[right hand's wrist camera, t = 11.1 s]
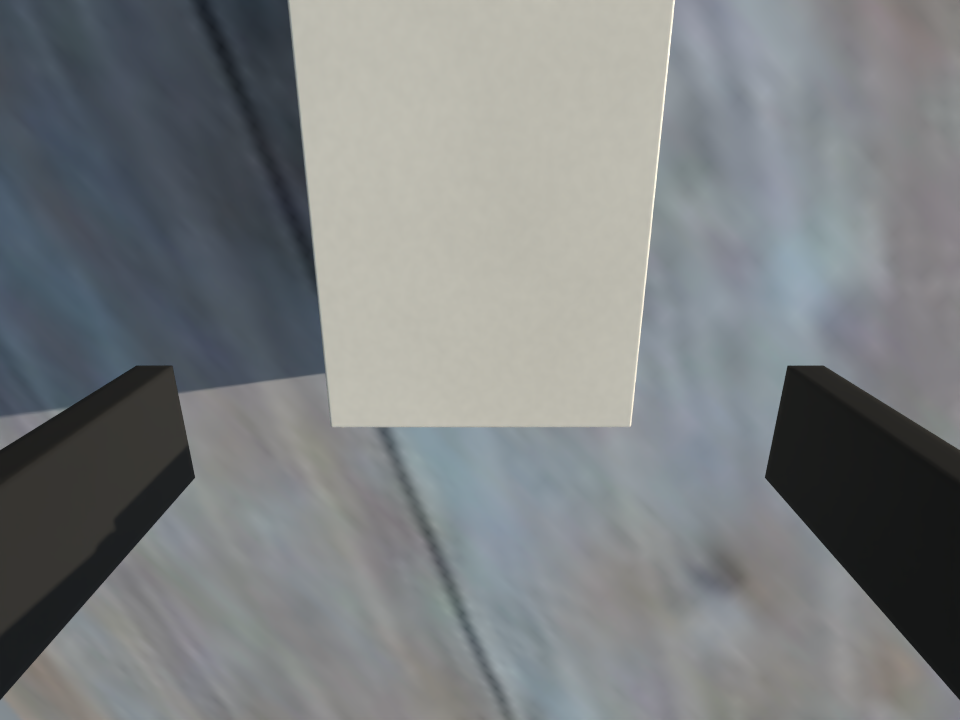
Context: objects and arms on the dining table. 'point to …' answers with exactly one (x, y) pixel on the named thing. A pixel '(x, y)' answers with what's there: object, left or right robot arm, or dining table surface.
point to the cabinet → (480, 204)
